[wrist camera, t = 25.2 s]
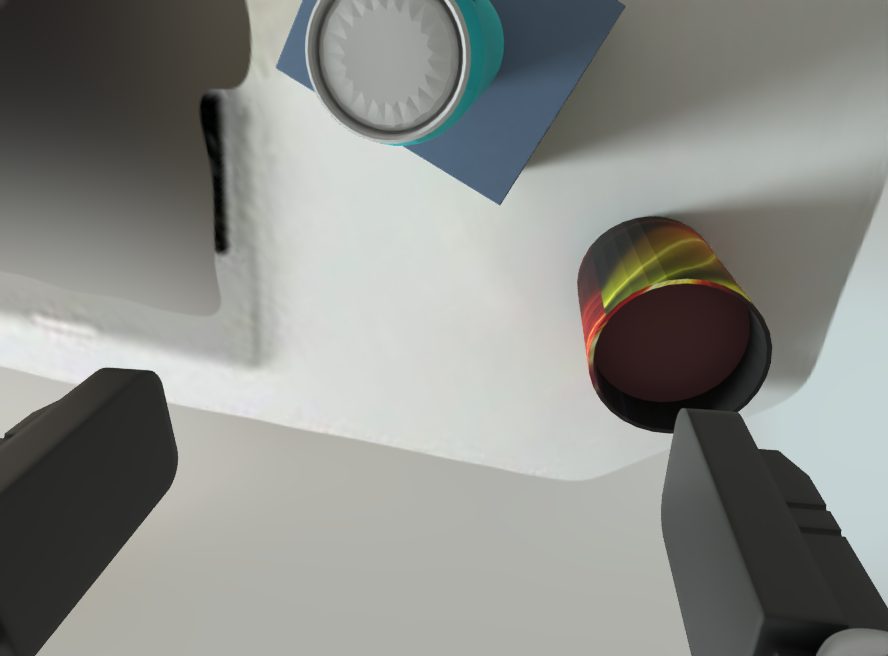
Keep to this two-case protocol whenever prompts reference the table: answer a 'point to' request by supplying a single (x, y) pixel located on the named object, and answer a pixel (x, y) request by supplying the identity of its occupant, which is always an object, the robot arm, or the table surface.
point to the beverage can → (402, 64)
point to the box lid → (503, 87)
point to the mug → (667, 325)
